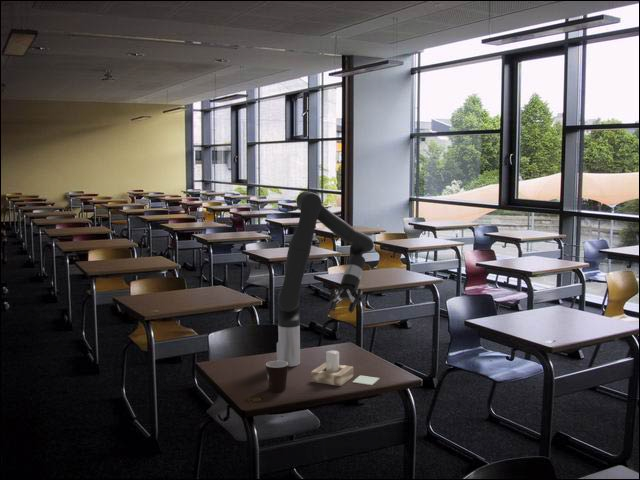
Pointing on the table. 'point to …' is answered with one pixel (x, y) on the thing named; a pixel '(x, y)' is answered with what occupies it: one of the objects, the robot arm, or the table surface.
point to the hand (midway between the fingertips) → (341, 311)
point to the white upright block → (332, 361)
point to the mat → (365, 380)
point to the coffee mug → (277, 375)
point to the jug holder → (332, 375)
